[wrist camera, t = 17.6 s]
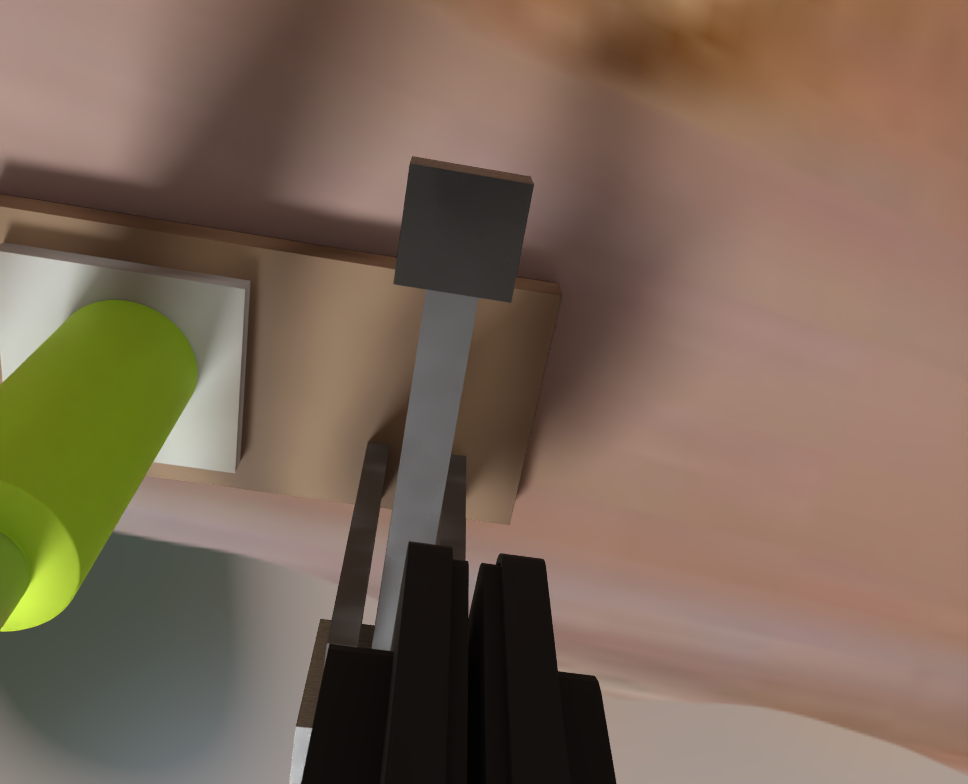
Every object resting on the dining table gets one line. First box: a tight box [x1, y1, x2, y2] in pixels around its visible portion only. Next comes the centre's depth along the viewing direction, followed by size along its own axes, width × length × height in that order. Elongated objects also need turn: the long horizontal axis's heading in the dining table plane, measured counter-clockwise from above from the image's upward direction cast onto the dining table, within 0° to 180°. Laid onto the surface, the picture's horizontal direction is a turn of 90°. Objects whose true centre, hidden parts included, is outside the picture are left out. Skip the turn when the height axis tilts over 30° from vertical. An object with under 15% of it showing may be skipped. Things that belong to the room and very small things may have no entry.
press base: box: [0, 194, 562, 666], centre depth 34 cm, size 24×12×14 cm, turn 80°
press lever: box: [289, 156, 534, 784], centre depth 31 cm, size 6×23×6 cm, turn 170°
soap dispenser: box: [0, 300, 197, 631], centre depth 29 cm, size 6×7×20 cm
